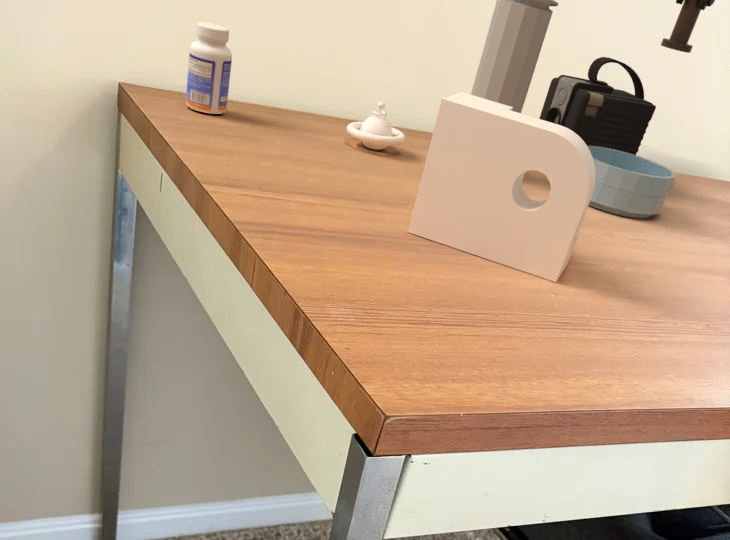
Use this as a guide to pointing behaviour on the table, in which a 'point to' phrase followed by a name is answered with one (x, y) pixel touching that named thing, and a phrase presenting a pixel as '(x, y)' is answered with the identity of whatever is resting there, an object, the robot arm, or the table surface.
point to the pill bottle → (209, 69)
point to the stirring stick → (683, 27)
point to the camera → (599, 109)
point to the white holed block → (503, 186)
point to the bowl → (629, 183)
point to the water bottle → (512, 51)
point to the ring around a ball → (376, 131)
